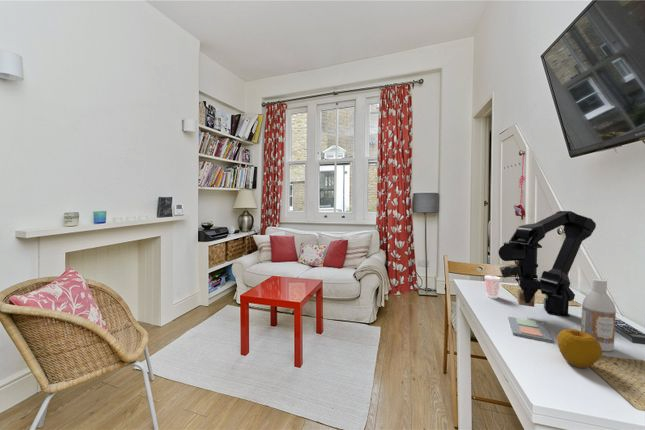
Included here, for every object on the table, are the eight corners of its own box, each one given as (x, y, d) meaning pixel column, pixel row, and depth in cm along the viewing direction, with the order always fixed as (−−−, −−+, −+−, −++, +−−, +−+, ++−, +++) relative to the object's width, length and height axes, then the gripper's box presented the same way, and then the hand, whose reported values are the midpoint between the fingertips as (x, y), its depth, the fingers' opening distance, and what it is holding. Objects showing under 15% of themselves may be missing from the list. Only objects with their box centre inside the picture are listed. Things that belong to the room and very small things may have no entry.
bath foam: (589, 350, 79) (592, 282, 78) (575, 338, 85) (578, 275, 84) (620, 354, 77) (623, 284, 76) (603, 342, 83) (606, 277, 82)
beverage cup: (483, 297, 123) (484, 266, 122) (484, 293, 128) (484, 264, 127) (499, 299, 119) (500, 268, 119) (499, 295, 125) (500, 265, 124)
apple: (609, 372, 68) (611, 337, 68) (583, 376, 67) (585, 341, 66) (572, 353, 77) (573, 323, 76) (548, 357, 75) (549, 325, 75)
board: (542, 324, 95) (542, 321, 95) (552, 342, 83) (552, 339, 83) (508, 318, 100) (508, 315, 100) (512, 334, 88) (513, 331, 88)
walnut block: (532, 303, 103) (532, 291, 103) (534, 306, 99) (534, 294, 99) (517, 300, 105) (517, 289, 105) (519, 304, 101) (519, 292, 101)
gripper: (499, 253, 113) (498, 290, 114) (503, 262, 97) (502, 305, 98) (532, 256, 108) (531, 295, 108) (543, 265, 91) (541, 311, 92)
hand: (525, 301), depth 102 cm, fingers closed on walnut block, 4 cm apart
